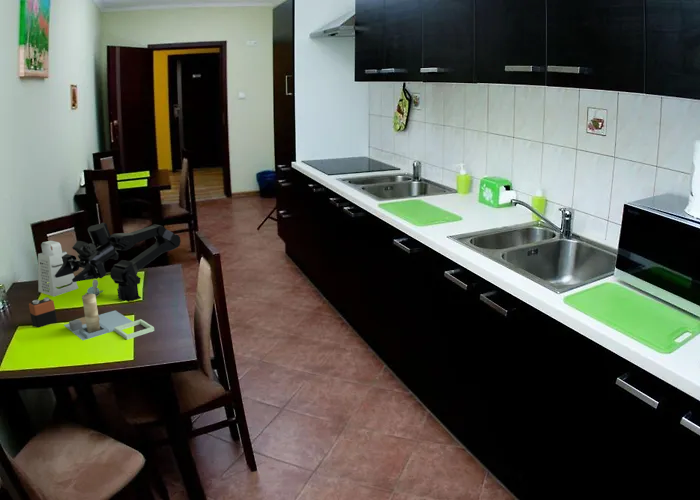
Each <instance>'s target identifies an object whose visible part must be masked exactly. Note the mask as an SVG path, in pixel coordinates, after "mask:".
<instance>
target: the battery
mask: <svg viewBox="0 0 700 500" xmlns="http://www.w3.org/2000/svg"><path fill="white" fill-rule="evenodd" d="M28 307H29V313H30V319H31V324H32V327H34V328H42V327H45V326H48V325H51V324H55V323H57V322H58V320H57V319H58V318H57V313H56V308H55V307H56V306H55V303H54V300H53V299H51V298H49V297H44V298H43V299H40V300H39V299H34V300H32V302H30V303H28Z"/></svg>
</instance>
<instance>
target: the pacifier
mask: <svg viewBox="0 0 700 500" xmlns="http://www.w3.org/2000/svg"><path fill="white" fill-rule="evenodd" d="M98 286H99V282H98V279H92V286H90V287H88V288H87V291H86V292H85V293H84V295H86V294H95V296H96V298H97V297H98V296H100V294H101V293H103V292H104V290H100V288H98Z"/></svg>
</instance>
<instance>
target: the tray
mask: <svg viewBox="0 0 700 500" xmlns="http://www.w3.org/2000/svg"><path fill="white" fill-rule="evenodd" d="M138 325H141V326H143V327H145V328H144V329H141V330H138V331H135V332H131V333H126V332H125V331H124V329H129V328H132V327H135V326H138ZM114 329H115V331H114V332H116V333H117V334H118V335H120V336H121V337H123V338H124V339H126V340H130V339H134V338H137V337H140V336H142V335H147V334H148V333H152V332H155V327H154V326H153V325H152V324H149V323H148V322H147V321H145V320H143V319H141V318H140V319H137V320H134V321H133V322H130V323H127V324H124V325H120V326H117V327H114Z"/></svg>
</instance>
